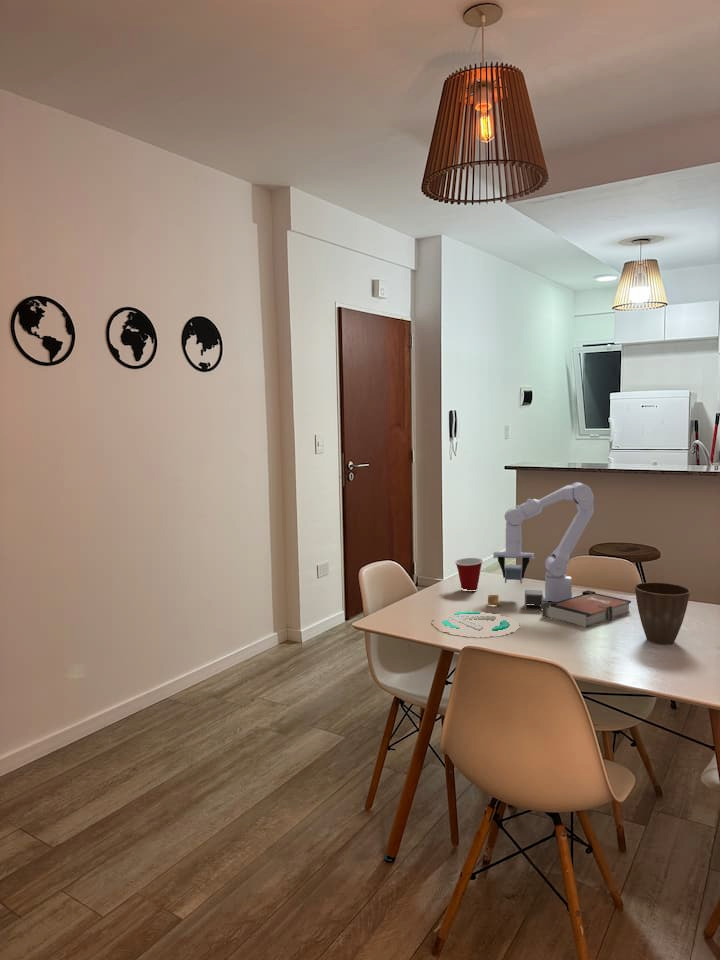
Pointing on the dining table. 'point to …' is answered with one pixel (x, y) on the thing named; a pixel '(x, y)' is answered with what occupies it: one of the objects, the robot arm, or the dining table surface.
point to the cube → (493, 600)
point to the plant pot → (661, 610)
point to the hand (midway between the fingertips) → (513, 577)
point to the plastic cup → (469, 572)
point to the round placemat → (503, 624)
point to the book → (586, 609)
